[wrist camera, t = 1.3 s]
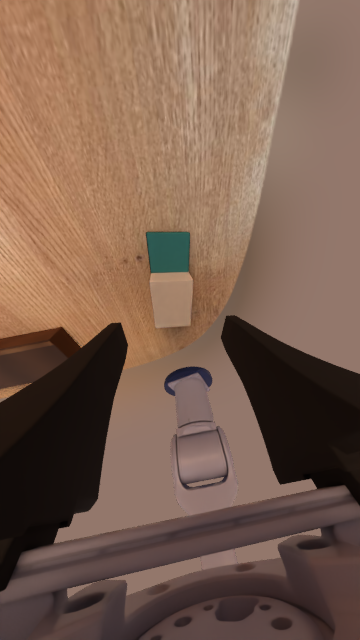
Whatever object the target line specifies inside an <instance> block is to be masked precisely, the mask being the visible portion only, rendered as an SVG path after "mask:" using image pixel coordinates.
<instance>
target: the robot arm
mask: <svg viewBox="0 0 360 640" xmlns="http://www.w3.org/2000/svg"><path fill="white" fill-rule="evenodd" d="M221 339H222V342H223V345H224V348H225V350H226V352H227V354H228V356H229V358H230V360H231V362H232V363H233V365H234V367H235V369H236V371H237V373H238V375H239V377H240V379H241V381H242V383H243V385H244V388H245V390H246V392H247V395H248V397H249V400H250V402H251V405H252V407H253V410H254V412H255V415H256V418H257V421H258V424H259V427H260V430H261V433H262V435H263V438H264V442H265V445H266V448H267V451H268V454H269V457H270V461H271V464H272V468H273V471H274V473H275V475H276V477H277V479H278V482H279V483H280V484H286V483H291V482H296V481H301V480H306V479H312V480H313V482H314V484H315V485H316V487H317V489H316V490H311V491H306V492H301V493H296V494H291V495H286V496H282V497H277V498H272V499H267V500H262V501H258V502H253V503H248V504H243V505H238V506H234V507H232V505H233V503H234V500H235V498H236V496H237V493H238V481H237V478H236V473H235V470H234V463H233V459H232V455H231V451H230V448H229V444H228V441H227V438H226V436H225V433H224V431H223V430H222V429H221V428H220V427H219V426H217V427H216V424H215V422H213V413H212V410H211V406H210V402H209V399H208V395H207V391H209V390H210V389H209V387H208V386H207V384H206V383H205V381H204V380H203V378H202V377H201V376H200V374H199V373H194V374H191V375H189V376H186V377H183V378H181V379H178V380H175V381H172V382H170V383H168V386H169V387H170V388H171V389H172V390H174V391H175V399H176V410H177V411H176V412H177V422H178V428H177V429H176V431H177V434H175V435H174V436H173V438H172V440H171V467H172V475H173V479H174V492H175V497H176V500H177V502H178V504H179V505H180V507H182V509H183V510H184V511H185V512H186V513H187V514H188V515H189V516H185V517H180V518H175V519H171V520H166V521H161V522H156V523H151V524H146V525H142V526H137V527H132V528H127V529H122V530H118V531H113V532H108V533H103V534H98V535H93V536H89V537H84V538H79V539H74V540H70V541H65V542H60V543H55V544H53V543H54V540H55V537H56V535H57V532H58V529H59V528H64V527H69V526H70V524H71V521H72V518H73V515H74V514H76V513H81V512H86V511H89V510H90V509H91V508H92V506H93V505H94V504H95V502H96V501H97V499H98V493H99V485H100V477H101V470H102V463H103V456H104V450H105V443H106V437H107V432H108V426H109V420H110V415H111V410H112V405H113V400H114V396H115V393H116V389H117V386H118V383H119V379H120V376H121V373H122V370H123V366H124V363H125V359H126V354H127V348H128V343H127V340H126V337H125V334H124V331H123V328H122V325H121V323H111V324H110V325H108V326H107V327H106V328H105V329H103V330H102V331H101V332H100V333H99V334H98V335H96V336H95V337H94V338H93V339H92V340H91V341H89V342H88V343H87V344H86V345H85V346H83V347H82V348H81V349H80V350H78V351H77V352H76V353H74V354H73V355H72V356H71V357H69V358H68V359H67V360H65V361H64V362H63V363H61V364H60V365H59V366H57V367H56V368H54V369H53V370H51V371H50V372H48V373H47V374H45V375H44V376H42V377H41V378H39V379H38V380H36V381H35V382H33V383H32V384H30V385H28V386H27V387H25V388H23V389H22V390H20V391H19V392H17V393H15V394H14V395H12V396H10V397H9V398H7V399H6V400H4V401H2V402H1V403H0V640H360V374H358V373H355V372H352V371H349V370H347V369H344V368H341V367H338V366H336V365H333V364H331V363H328V362H326V361H323V360H321V359H318V358H316V357H313V356H311V355H309V354H306V353H304V352H302V351H300V350H297V349H295V348H293V347H291V346H289V345H287V344H285V343H283V342H281V341H279V340H277V339H275V338H273V337H271V336H270V335H267V334H266V333H264V332H262V331H261V330H259V329H257V328H256V327H254V326H252V325H251V324H249V323H247V322H246V321H244V320H242V319H240V318H239V317H237V316H235V315H234V316H226V319H225V323H224V327H223V331H222V335H221ZM220 477H224V479H223V480H222V481H220V482H217V483H212V484H207V485H202V486H197V487H189V486H187V485H186V484H189V483H194V482H199V481H204V480H209V479H214V478H220ZM318 528H321V533H322V536H321V537H320V536H312V535H296V536H292V537H290V538H288V539H287V540H285V541H283V542H281V543H280V544H278V551H279V553H280V556H281V558H277V559H269V560H262V561H255V562H247V563H240V564H238V562H237V558H236V554H235V548H238V547H243V546H247V545H251V544H256V543H259V542H264V541H268V540H272V539H277V538H281V537H285V536H289V535H293V534H297V533H301V532H306V531H310V530H314V529H318ZM197 557H200V558H201V566H202V570H201V571H197V572H193V573H190V574H187V575H184V576H180V577H177V578H174V579H171V580H169V581H166V582H163V583H160V584H158V585H155V586H152V587H150V588H147V589H144V590H142V591H138V592H136V593H133V594H130V595H128V596H126V591H127V583H126V581H125V580H105V579H109V578H113V577H118V576H122V575H126V574H130V573H134V572H139V571H143V570H147V569H151V568H155V567H159V566H164V565H168V564H172V563H176V562H180V561H184V560H188V559H193V558H197ZM101 580H103V581H101ZM97 581H99V582H97ZM92 582H96V583H93V584H91V585H89V586H87V587H86V588H84V589H82V590H81V591H79V592H77V593H76V594H74V595H73V596H71V597H70V598H68V597H67V588H72V587H76V586H79V585H84V584H88V583H92Z"/></svg>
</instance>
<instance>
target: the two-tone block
mask: <svg viewBox="0 0 360 640" xmlns="http://www.w3.org/2000/svg"><path fill="white" fill-rule="evenodd" d="M146 238H147V246H148V254H149V262H150V271H151V277H150V282H149V283H150V291H151V298H152V305H153V313H154V320H155V328H167V327H181V326H190V325H191V310H192V294H193V279H192V277H191V276H190V274H189V272H188V271H189V246H190V233H189V232H146Z"/></svg>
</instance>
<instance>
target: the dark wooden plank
mask: <svg viewBox="0 0 360 640" xmlns="http://www.w3.org/2000/svg"><path fill="white" fill-rule="evenodd" d="M80 349H81V348H80V347H79V346H78V345H77V344H76V343H75V342H74V340H73V339H72V338H71V337H70V336H69V335H68V334H67V333H66V332H65V330H64V329H63V328H62V327H60V328H55V329H50V330H45V331H40V332H35V333H29V334H24V335H19V336H14V337H9V338H4V339H0V389H2V388H7V387H12V386H17V385H22V384H27V383H32V382H35V381H36V380H38V379H39V378H41V377H42V376H44V375H45V374H47V373H48V372H50V371H51V370H53V369H54V368H56V367H57V366H59V365H60V364H61V363H63V362H64V361H65V360H67V359H68V358H69V357H71V356H72V355H73V354H74V353H76V352H77V351H78V350H80Z"/></svg>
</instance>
